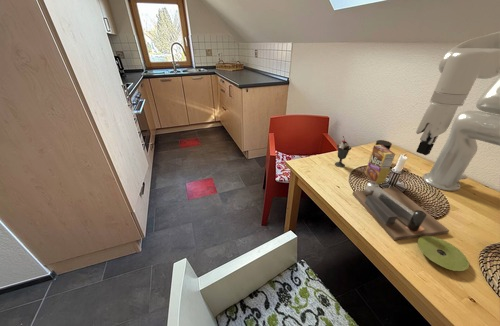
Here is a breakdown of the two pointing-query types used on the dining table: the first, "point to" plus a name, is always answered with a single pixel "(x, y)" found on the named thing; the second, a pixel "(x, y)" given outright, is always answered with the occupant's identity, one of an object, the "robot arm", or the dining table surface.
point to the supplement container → (384, 143)
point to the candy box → (379, 163)
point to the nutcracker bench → (398, 224)
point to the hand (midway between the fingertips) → (422, 153)
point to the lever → (396, 207)
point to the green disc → (443, 253)
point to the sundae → (342, 152)
